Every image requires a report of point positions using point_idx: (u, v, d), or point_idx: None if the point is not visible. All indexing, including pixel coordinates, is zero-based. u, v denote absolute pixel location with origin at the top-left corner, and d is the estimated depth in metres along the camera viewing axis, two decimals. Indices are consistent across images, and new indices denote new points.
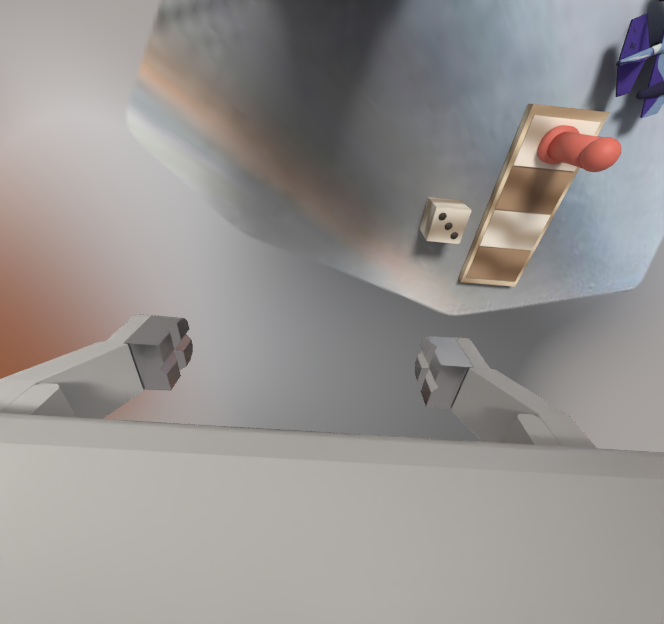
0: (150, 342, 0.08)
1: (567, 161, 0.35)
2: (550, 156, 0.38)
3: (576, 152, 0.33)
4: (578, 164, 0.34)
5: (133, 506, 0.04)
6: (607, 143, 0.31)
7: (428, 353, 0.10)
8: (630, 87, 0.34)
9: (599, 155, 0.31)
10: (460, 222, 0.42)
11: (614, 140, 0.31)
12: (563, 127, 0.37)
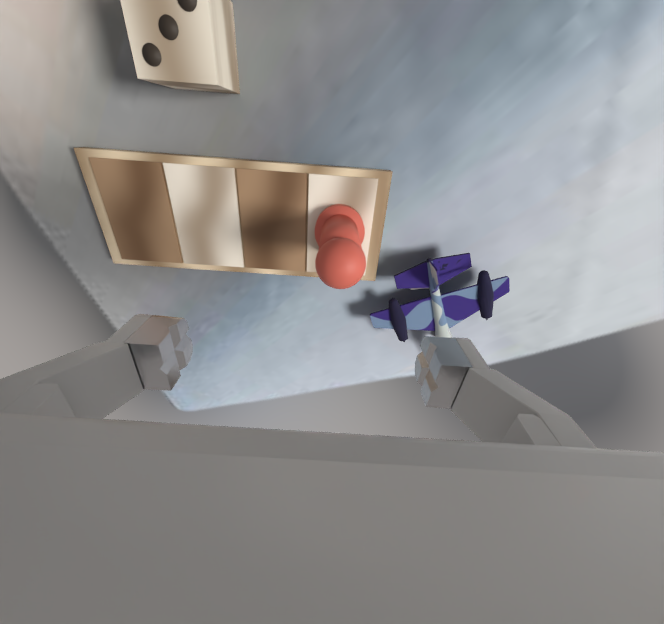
0: (150, 342, 0.08)
1: (324, 234, 0.22)
2: (325, 221, 0.25)
3: (340, 233, 0.20)
4: (323, 243, 0.20)
5: (133, 506, 0.04)
6: (360, 261, 0.18)
7: (428, 353, 0.10)
8: (402, 286, 0.28)
9: (343, 255, 0.18)
10: (185, 63, 0.18)
11: (363, 270, 0.19)
12: (363, 225, 0.25)
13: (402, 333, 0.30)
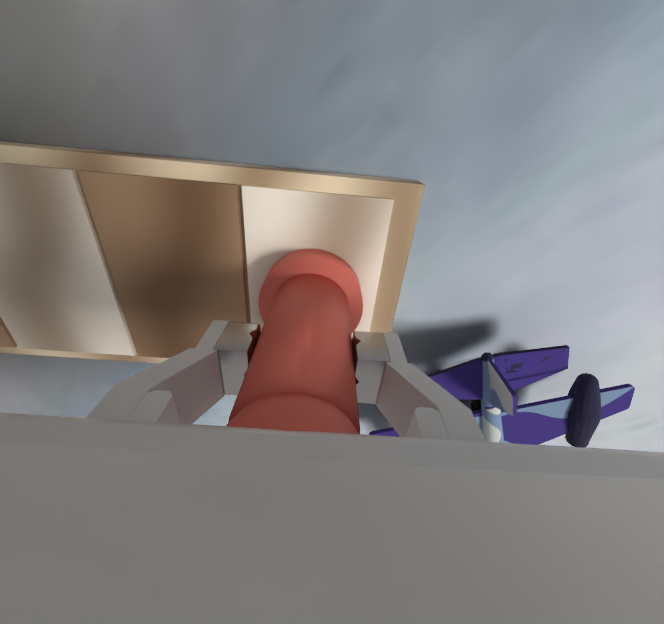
0: (238, 348, 0.08)
1: (259, 345, 0.08)
2: (279, 289, 0.11)
3: (293, 371, 0.07)
4: (242, 399, 0.07)
5: (133, 506, 0.04)
6: None
7: (354, 348, 0.09)
8: None
9: None
10: None
11: None
12: (359, 295, 0.12)
13: None
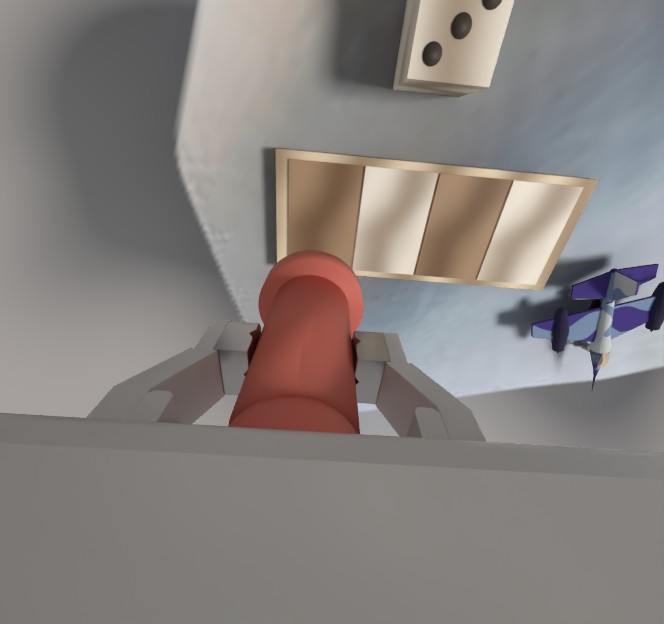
0: (238, 348, 0.08)
1: (259, 348, 0.08)
2: (279, 291, 0.11)
3: (292, 374, 0.07)
4: (242, 402, 0.07)
5: (133, 506, 0.04)
6: None
7: (354, 348, 0.09)
8: (577, 296, 0.27)
9: None
10: (463, 63, 0.17)
11: None
12: (359, 296, 0.12)
13: (562, 344, 0.30)
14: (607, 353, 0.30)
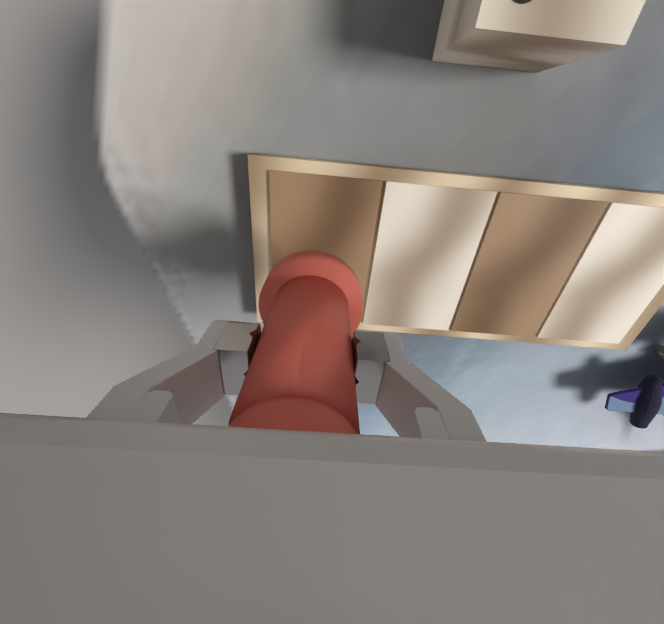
0: (238, 348, 0.08)
1: (259, 348, 0.08)
2: (279, 291, 0.11)
3: (292, 374, 0.07)
4: (241, 402, 0.07)
5: (133, 506, 0.04)
6: None
7: (354, 348, 0.09)
8: None
9: None
10: None
11: None
12: (359, 297, 0.12)
13: (649, 420, 0.22)
14: None
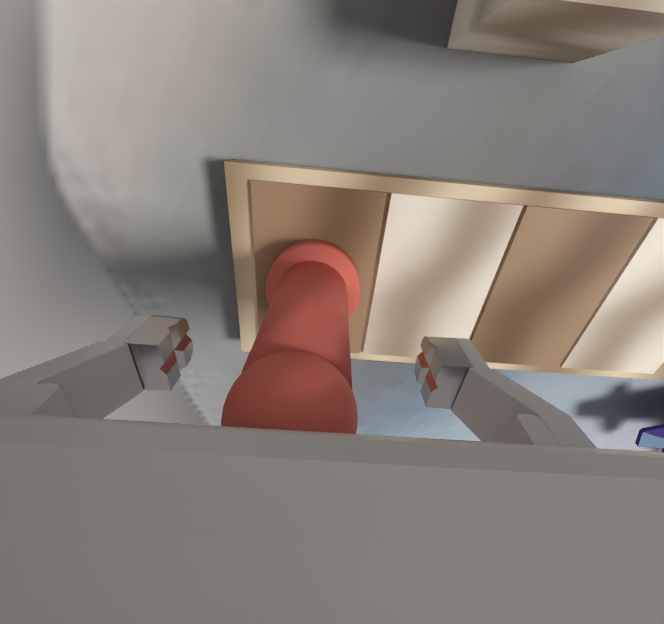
0: (150, 342, 0.08)
1: (266, 318, 0.10)
2: (284, 275, 0.13)
3: (295, 333, 0.08)
4: (252, 357, 0.08)
5: (133, 506, 0.04)
6: None
7: (428, 353, 0.10)
8: None
9: None
10: None
11: None
12: (356, 281, 0.13)
13: None
14: None
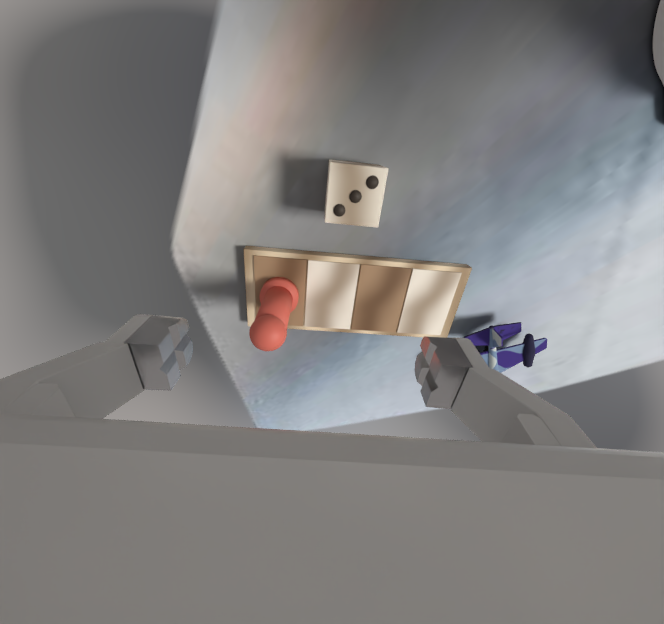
0: (150, 342, 0.08)
1: (261, 307, 0.29)
2: (267, 291, 0.32)
3: (269, 310, 0.28)
4: (257, 317, 0.28)
5: (133, 506, 0.04)
6: (279, 333, 0.26)
7: (428, 353, 0.10)
8: None
9: (266, 331, 0.26)
10: (359, 215, 0.27)
11: (283, 339, 0.27)
12: (296, 294, 0.33)
13: None
14: None
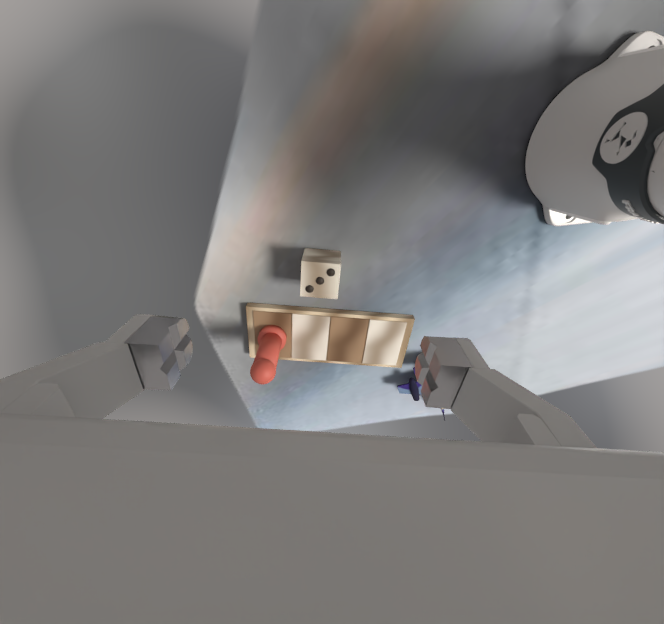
0: (150, 342, 0.08)
1: (258, 350, 0.42)
2: (263, 336, 0.45)
3: (264, 355, 0.40)
4: (255, 360, 0.40)
5: (133, 506, 0.04)
6: (270, 373, 0.39)
7: (428, 353, 0.10)
8: None
9: (261, 372, 0.38)
10: (324, 291, 0.39)
11: (273, 376, 0.39)
12: (284, 337, 0.46)
13: (416, 397, 0.51)
14: None
